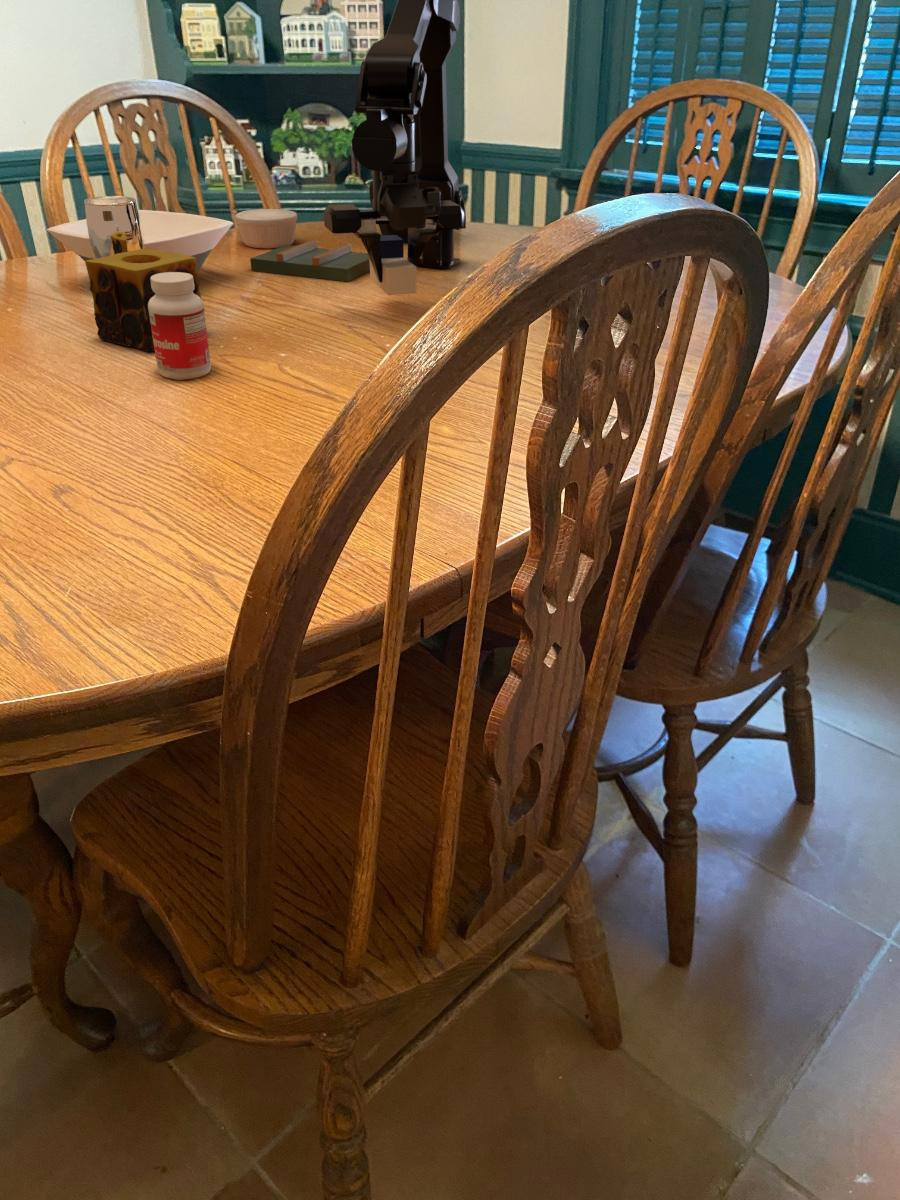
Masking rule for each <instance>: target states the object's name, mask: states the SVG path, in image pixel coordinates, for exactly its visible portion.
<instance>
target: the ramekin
mask: <svg viewBox="0 0 900 1200" xmlns="http://www.w3.org/2000/svg"><path fill="white" fill-rule="evenodd" d="M234 218H235V222H236V223H237V226H238V230H239V234H240V237H241V240H242V243H243V244H244V245H245V246H247V247H249V248H253V249H277V248H279V247H282V246H285V245H293V243H294V242H295V240H296V231H297V230H296V229H297V221H298V213H297V212H296V211H293V210H288V209H282V208H258V209H257V208H256V209H248V210H243V211H239V212H238V213H236V214H235V216H234Z"/></svg>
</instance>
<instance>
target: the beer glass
mask: <svg viewBox="0 0 900 1200" xmlns="http://www.w3.org/2000/svg"><path fill="white" fill-rule="evenodd" d="M83 204H84V209H85V219H86V221H87V228H88V234H89V239H90V244H91V247H92V250H93V254H94V257H95V259H97V258H101V257H106V256H110V255H114V254H118V253H123V252H129V251H134V250H139V249H144V241H143V233H142V228H141V222H140V218H139V213H138V210H139V209H138V205H137V200H136V198H134V197H132V196H125V195H105V196H94V197H90V198H89V197H88V198H86V199H84V200H83Z"/></svg>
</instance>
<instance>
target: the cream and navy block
mask: <svg viewBox="0 0 900 1200" xmlns="http://www.w3.org/2000/svg"><path fill="white" fill-rule="evenodd" d="M380 251H381V260H382V270H383V277H382V283H380V282H379V281H378V279H377V277H376V274H375V271H374V268H373V266H372V263H371V260H370V271H369V278H370V280H371V281H372V282H373V283H374V284H375V285H376V286H377V287H379V288H380V289H381V290H382V291H383V292H384V293H385V294H386V295H387V296H397V295H413V294H417V293H418V290H417V289H418V287H417V285H418V284H417V281H418V275H417V273H418V272H417V269H418V267H416V266H414V265H413V264H412V263H411V262H409V261H408V260H407V258H405V257H404V256H405V255H404V254H405V253H404V242H403V239H401V238H400V237H399V236H397V235H385V236H383V235H381V239H380Z"/></svg>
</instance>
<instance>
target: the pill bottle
mask: <svg viewBox="0 0 900 1200" xmlns="http://www.w3.org/2000/svg"><path fill="white" fill-rule="evenodd" d="M150 280H151V288H152V290H153V292H155V295H154V296H153V297H152V298H151V299H150V300H149V303H148V310H149V317H150V323H151V330H152V337H153V343H154V349H155V351H154V354H155V355H154V356H155V361H156V366H157V371H158V373H159V374H160V375H161V376H162V377H164V378H167V379H170V380H177V381H179V380H181V381H183V380H184V381H185V380H194V379H197V378H200V377H204V376H206V375H207V374H209V373H210V372H211V369H212V363H211V362H212V361H211V354H210V348H209V340H208V339H209V338H208V331H207V321H206V315H205V305H204V302H203V299H202V297H201V298H200V297H199V296H197V295H196V294H194V293H193V290H194V289H195V288H194V287H195V285H194V279H193V276H192V275H191V274H188V273H181V272H166V273H159V274H155V275H153V276H151V278H150Z"/></svg>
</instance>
